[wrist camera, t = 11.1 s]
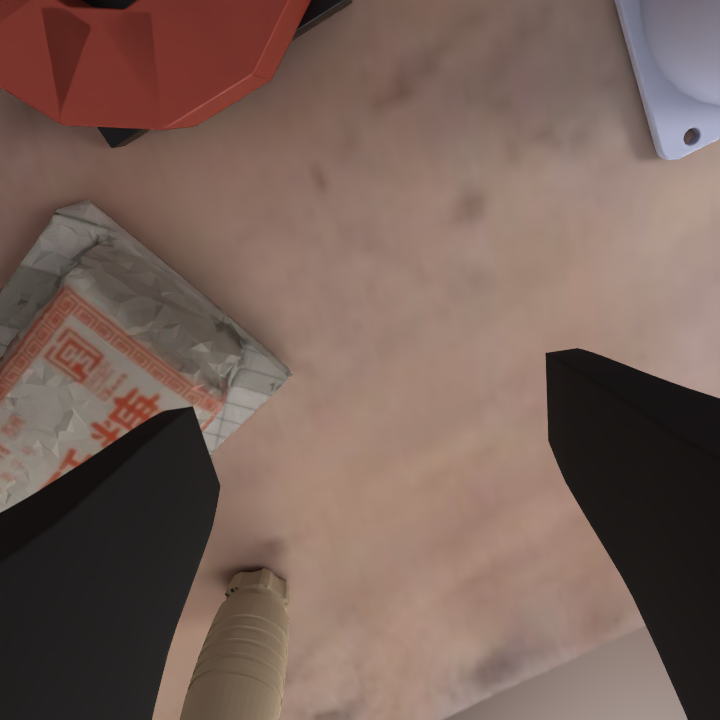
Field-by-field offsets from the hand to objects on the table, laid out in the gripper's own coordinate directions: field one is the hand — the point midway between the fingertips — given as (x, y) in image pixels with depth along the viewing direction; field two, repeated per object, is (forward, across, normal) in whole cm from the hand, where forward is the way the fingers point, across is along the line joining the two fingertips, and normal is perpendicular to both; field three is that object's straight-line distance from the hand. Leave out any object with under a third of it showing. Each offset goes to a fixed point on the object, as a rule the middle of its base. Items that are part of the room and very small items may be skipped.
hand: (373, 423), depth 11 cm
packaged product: (+11, +14, +4) cm, 18 cm away
